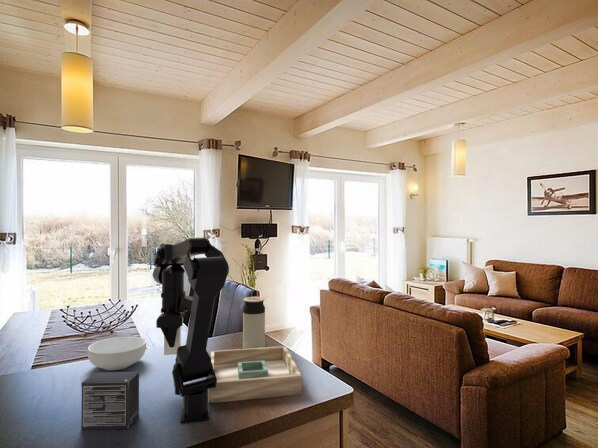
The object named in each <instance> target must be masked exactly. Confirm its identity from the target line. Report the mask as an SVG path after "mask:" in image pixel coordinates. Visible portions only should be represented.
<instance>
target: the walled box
mask: <svg viewBox="0 0 598 448" xmlns="http://www.w3.org/2000/svg"><path fill="white" fill-rule="evenodd" d="M210 357H211V362H212V365H213V369H214V372H215V375H216V379H217V384H216V387H215V388H210V389H208V404H215V403H217V404H218V403H225V402H235V401H236V402H237V401H247V400H256V399H266V398H267V399H268V398H277V397H287V396H296V395H302V391H303V389H302V387H303V386H302V383H303V381H302V378H303V377H302V376H303V375H302V373H301V372H300V369H299V368H298V366H297V364H296V362H295V360H294V358H293V357H292V354H291V353H290V351H289V350H288V347H287V346H286V345H281V346H280V345H279V346H278V345H277V346H265V347H261V348H247V349H244V348H236V349H221V350H210Z"/></svg>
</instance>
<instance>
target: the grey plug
mask: <svg viewBox="0 0 598 448" xmlns="http://www.w3.org/2000/svg"><path fill="white" fill-rule="evenodd" d="M163 344H164V345H163V355H164V356H170V355H171V356H172V355H177V349H178V347H179V346H182V326H180V327H179V328H178V329H177V335H176V340H175V345H174V347H169V345H168V342H167V340H166V338H165V336H164V335H163Z"/></svg>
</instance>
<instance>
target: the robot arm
mask: <svg viewBox="0 0 598 448" xmlns="http://www.w3.org/2000/svg"><path fill="white" fill-rule="evenodd" d="M198 255H204V256H205V257H195V256H198ZM192 257H193V259H192ZM228 263H229V262H228V261H227V259H226V257H225V255H224V253H223V252H222V251H221V250H219V249H218V248H217V247H215V246H214V245H213V244H211V242H210V240H209V239H208V238H206V237H188V238H186V239H184V240H183V241H179V242H165V243H164V242H162V243H160V246H159V247H158V248H157V251H156V252H155V256H154V257H153V266H154V270H153V272H152V278H153V280H154V281H155V282H156V283H159V284H160V285H161V293H160V298H161V309H160V314H159V316H158V317H157V319H156V322H155V323H156V328H157V329H160V330H161V332H162V334H163V337H164V336H165V338H166V340H167V342H168V345H169V347H174V345H175V340H176V335H177V329H178V328H179V327H180V326H181V327H182V326H183V325H184V318H185V317H186V314H185V313H187V312H188V311H189V313H190V314H189V315H190V316H189V322H188V327H187V328H188V329H187V335H186V341H185V345H181V346H179V347H178V349H177V354H176V356H175V359H174V360H175V362H174V364H173V368H172V371H171V373H172V379H173V387H174V395H176V396H180V397H181V398H182V408H181V413H180V418H179V423H191V422H200V421H201V422H202V421H208V420H210V414H211V413H210V412H211V411H210V410H211V405H210V403H209V389H210V388H215V387H216V384H217V379H216V375H215V372H214V369H213V365H212V362H211V355H210V354H209V352H208V351H207V346H208V339H209V335H210V330H211V329H210V328H211V323H212V317H213V313H214V312H213V311H214V307H215V306H214V304H215V300H216V296H218V294H219V293H220V292H221V291H222V290H223V289H224V287H225V285H226V281H227V277H228V275H229V272H230V265H229V264H228ZM185 273H186V276H187V278H188V279H187V281H188V282H189V285H190V287H191V288H192V290H193V293H192V294H193V295H192V296H191V295H190V296H188V295H186V291H185V288H184V287H185V283H184V281H185ZM203 378H205V379H203ZM199 379H201V380H199ZM196 380H197V381H196ZM189 382H190V383H189ZM184 383H185V384H184Z"/></svg>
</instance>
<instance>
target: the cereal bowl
mask: <svg viewBox="0 0 598 448" xmlns="http://www.w3.org/2000/svg"><path fill="white" fill-rule="evenodd" d="M146 349H147V340H146V339H145V338H143V337H139V336H115V337H109V338H104V339H101V340H98V341H95V342H93V343H91V344H90V345H89V346H88V347H87V357H88V361H89V362H90V363H91V364H92V366H94V367H97V368H100V369H103V370H105V371H109V372H113V371H119V370H124V369H127V368H129V367H130V366H131V365H134V364H135V363H137V362H138V361H140V360H141V359H142V358H143V357H144V355H145V354H146V353H145V352H146Z"/></svg>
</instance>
